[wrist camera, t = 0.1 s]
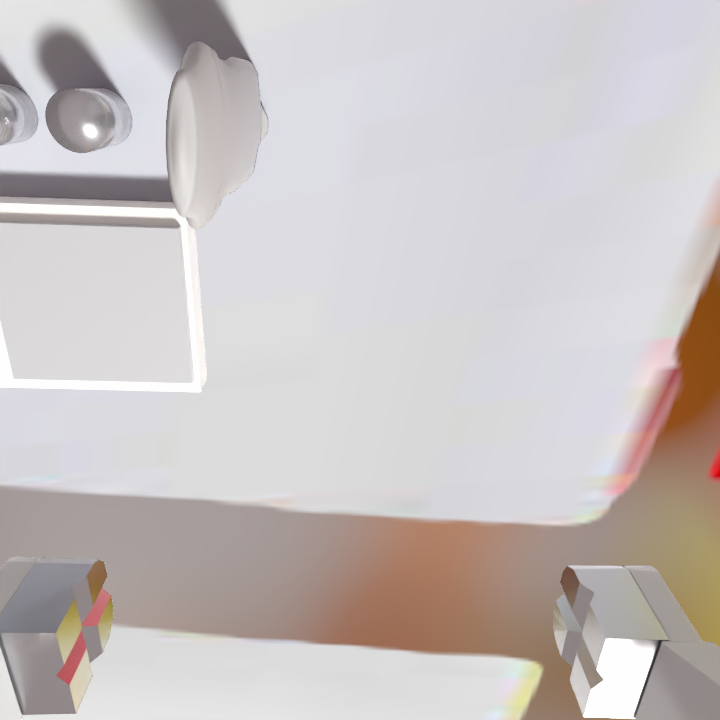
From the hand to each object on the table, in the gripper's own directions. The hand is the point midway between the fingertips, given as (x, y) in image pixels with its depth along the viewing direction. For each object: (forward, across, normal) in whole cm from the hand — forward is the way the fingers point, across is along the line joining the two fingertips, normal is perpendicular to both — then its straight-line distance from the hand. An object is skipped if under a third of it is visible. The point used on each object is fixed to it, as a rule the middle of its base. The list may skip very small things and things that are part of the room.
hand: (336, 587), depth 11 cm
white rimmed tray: (+48, +25, +11) cm, 55 cm away
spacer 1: (+48, +29, -5) cm, 56 cm away
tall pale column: (+48, +9, -5) cm, 49 cm away
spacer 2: (+48, +21, -5) cm, 53 cm away
